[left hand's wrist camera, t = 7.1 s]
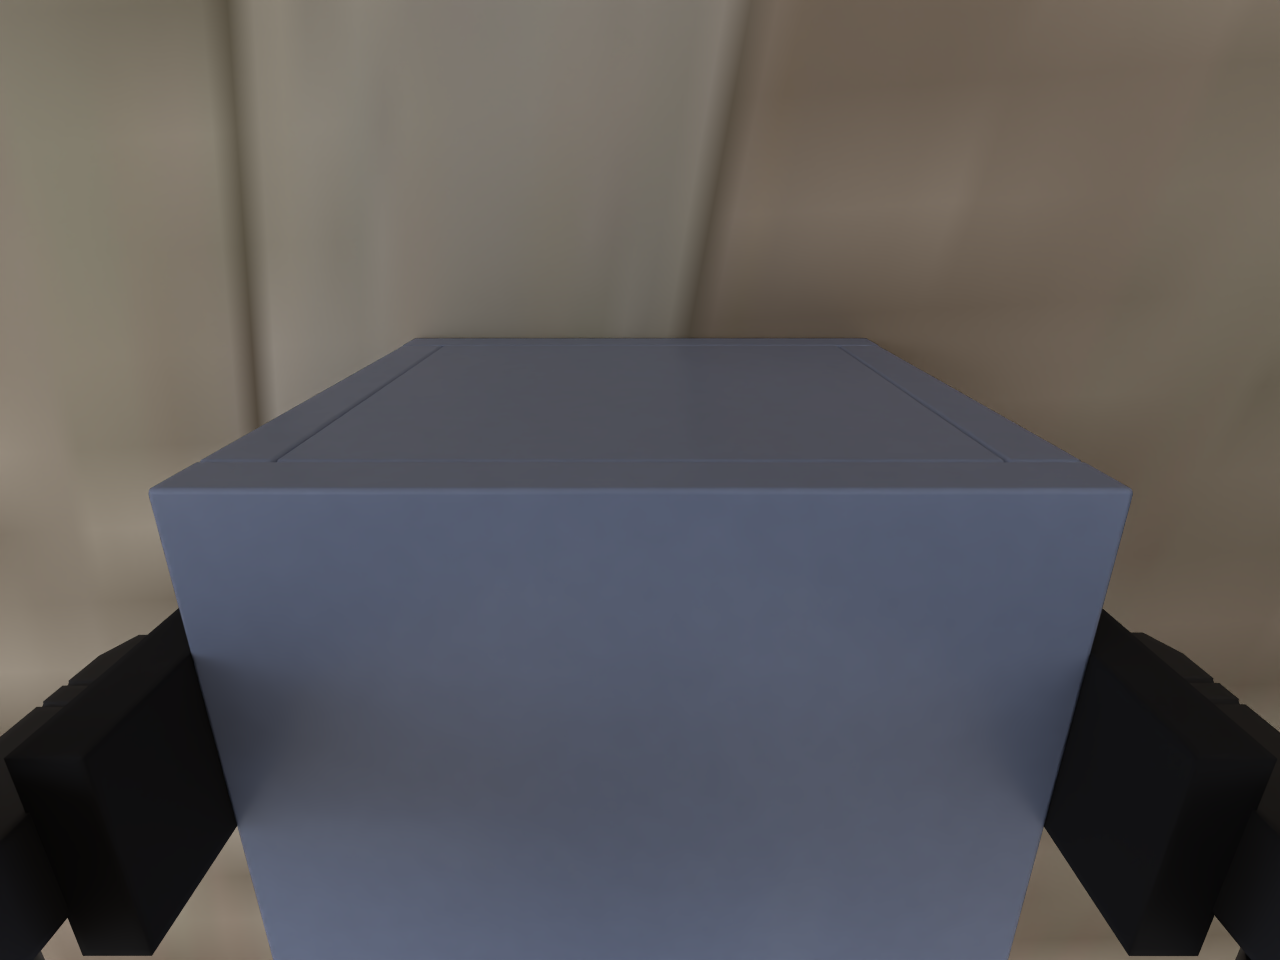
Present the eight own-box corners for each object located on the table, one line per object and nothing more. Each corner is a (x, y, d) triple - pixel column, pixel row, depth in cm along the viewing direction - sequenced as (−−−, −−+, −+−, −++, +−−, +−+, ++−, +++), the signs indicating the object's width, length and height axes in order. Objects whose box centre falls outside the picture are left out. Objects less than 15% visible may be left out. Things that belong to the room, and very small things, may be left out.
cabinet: (809, 846, 22) (923, 1279, 13) (472, 845, 22) (356, 1278, 13) (866, 338, 17) (1137, 489, 8) (414, 338, 17) (143, 489, 8)
